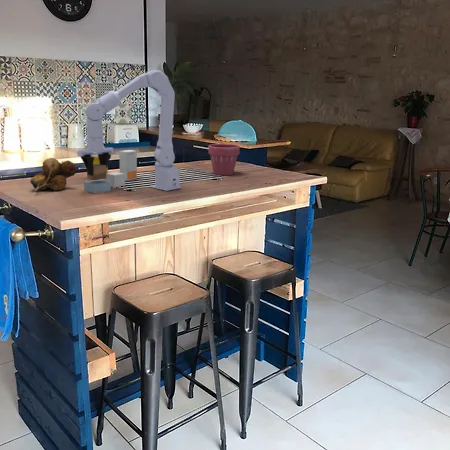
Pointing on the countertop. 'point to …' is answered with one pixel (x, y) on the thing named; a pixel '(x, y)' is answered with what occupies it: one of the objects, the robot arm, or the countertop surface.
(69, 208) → the countertop surface
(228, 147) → the plant pot
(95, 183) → the base block
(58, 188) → the seed pod
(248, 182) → the countertop surface
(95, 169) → the walnut block
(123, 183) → the grey block
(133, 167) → the skincare box
